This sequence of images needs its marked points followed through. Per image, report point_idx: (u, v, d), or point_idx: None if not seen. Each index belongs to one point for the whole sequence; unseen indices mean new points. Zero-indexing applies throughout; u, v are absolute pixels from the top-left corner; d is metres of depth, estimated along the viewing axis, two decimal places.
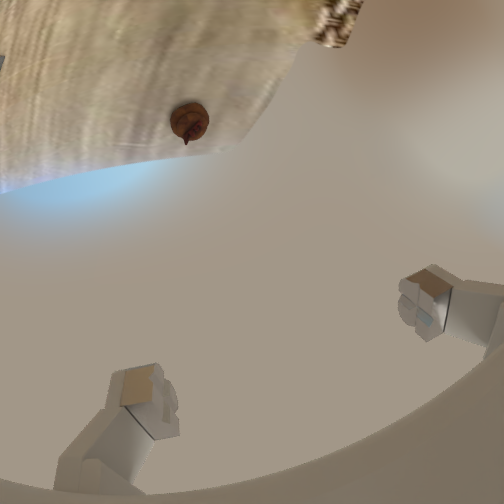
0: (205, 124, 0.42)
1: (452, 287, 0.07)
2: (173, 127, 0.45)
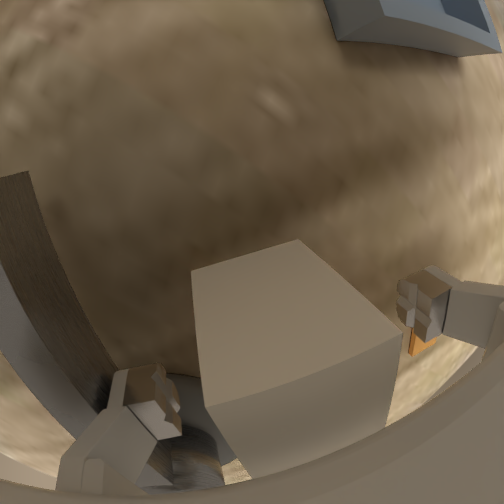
0: None
1: (450, 288, 0.07)
2: None
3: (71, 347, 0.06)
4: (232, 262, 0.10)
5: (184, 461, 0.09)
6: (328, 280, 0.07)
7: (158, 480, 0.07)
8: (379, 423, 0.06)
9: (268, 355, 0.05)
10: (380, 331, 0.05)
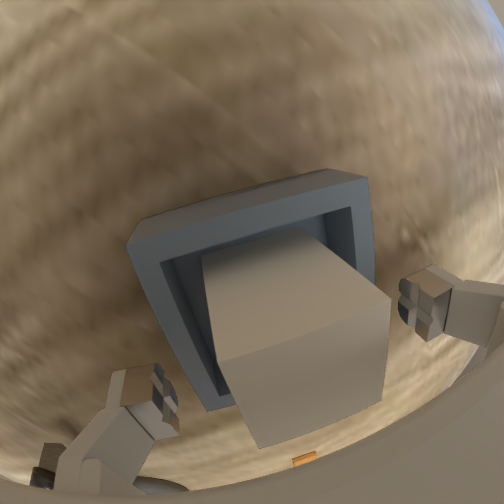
0: None
1: (452, 287, 0.07)
2: None
3: None
4: (239, 247, 0.11)
5: None
6: (325, 259, 0.08)
7: None
8: (375, 393, 0.07)
9: (272, 319, 0.06)
10: (371, 298, 0.06)
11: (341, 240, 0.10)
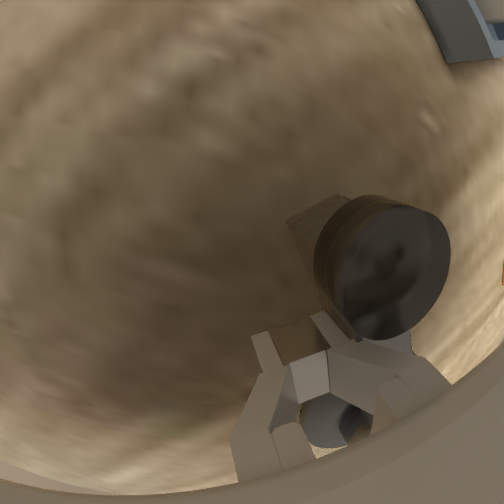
0: None
1: (329, 348, 0.07)
2: None
3: None
4: None
5: None
6: None
7: None
8: None
9: None
10: None
11: None
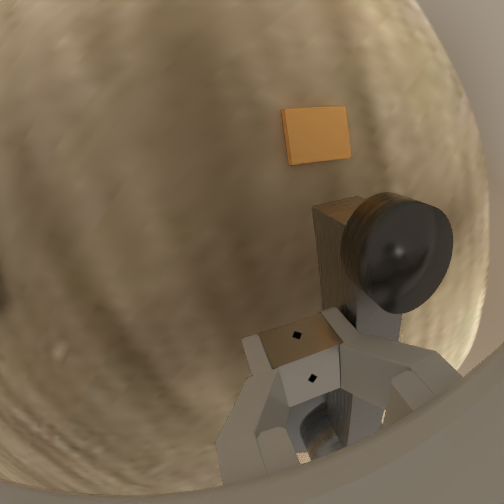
0: None
1: (341, 342, 0.07)
2: None
3: None
4: None
5: None
6: None
7: None
8: None
9: None
10: None
11: None
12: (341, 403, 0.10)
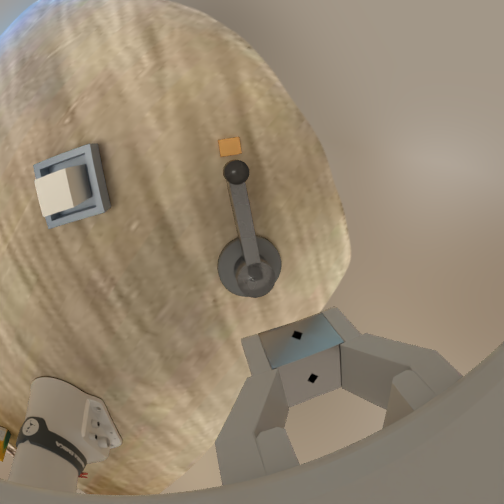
0: None
1: (342, 342, 0.07)
2: None
3: None
4: None
5: (262, 259, 0.34)
6: None
7: (256, 258, 0.32)
8: (60, 172, 0.22)
9: None
10: None
11: (53, 164, 0.26)
12: (239, 235, 0.32)
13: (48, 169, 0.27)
